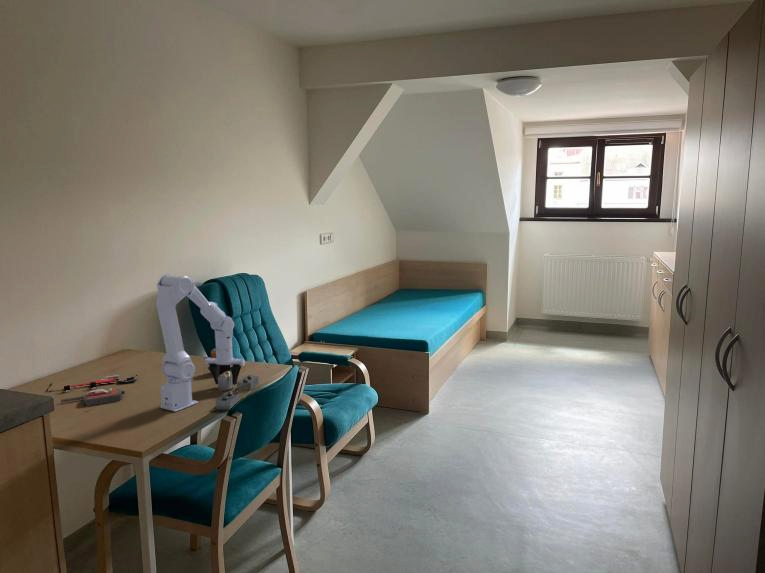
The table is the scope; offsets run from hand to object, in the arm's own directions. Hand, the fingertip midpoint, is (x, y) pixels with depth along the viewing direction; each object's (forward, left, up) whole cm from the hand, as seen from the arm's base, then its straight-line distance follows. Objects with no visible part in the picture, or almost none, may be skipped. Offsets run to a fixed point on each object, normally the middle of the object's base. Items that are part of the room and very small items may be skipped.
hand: (226, 383), depth 204 cm
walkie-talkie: (-33, +30, -2) cm, 44 cm away
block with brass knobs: (0, 0, -2) cm, 2 cm away
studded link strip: (-4, -10, -1) cm, 11 cm away
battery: (+12, +16, -2) cm, 20 cm away
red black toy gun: (-22, +48, -2) cm, 53 cm away
